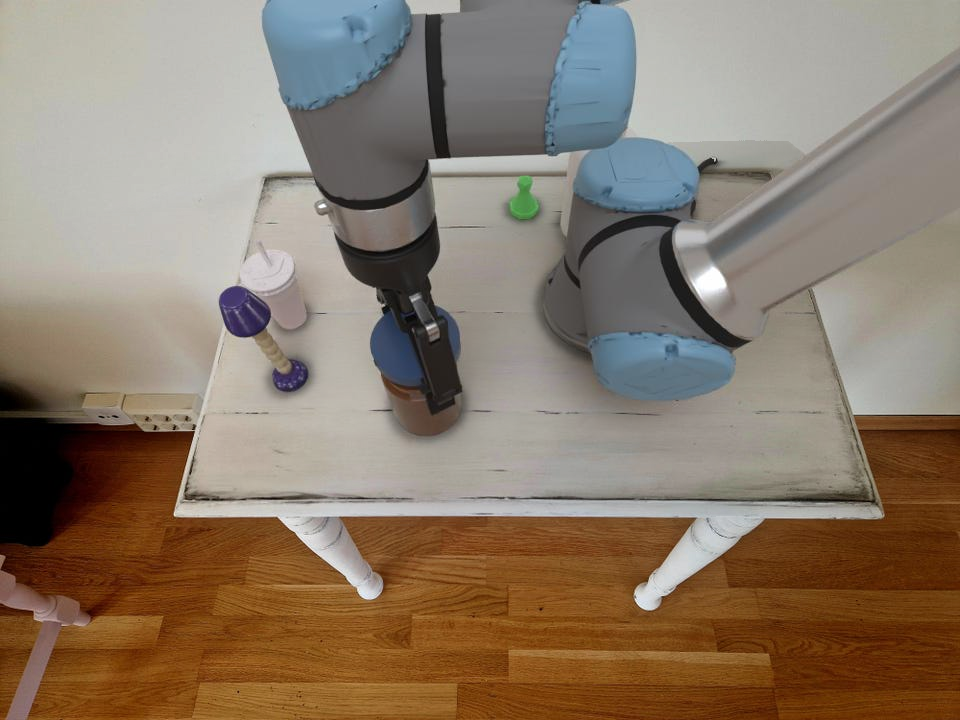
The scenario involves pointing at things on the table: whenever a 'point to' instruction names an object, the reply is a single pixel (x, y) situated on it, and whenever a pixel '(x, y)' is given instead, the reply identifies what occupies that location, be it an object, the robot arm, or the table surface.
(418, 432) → the jar
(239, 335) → the toy lamp
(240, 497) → the table surface
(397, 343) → the jar lid
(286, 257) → the smoothie
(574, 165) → the potion bottle
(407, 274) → the robot arm
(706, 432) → the table surface
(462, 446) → the table surface
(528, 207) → the game piece
